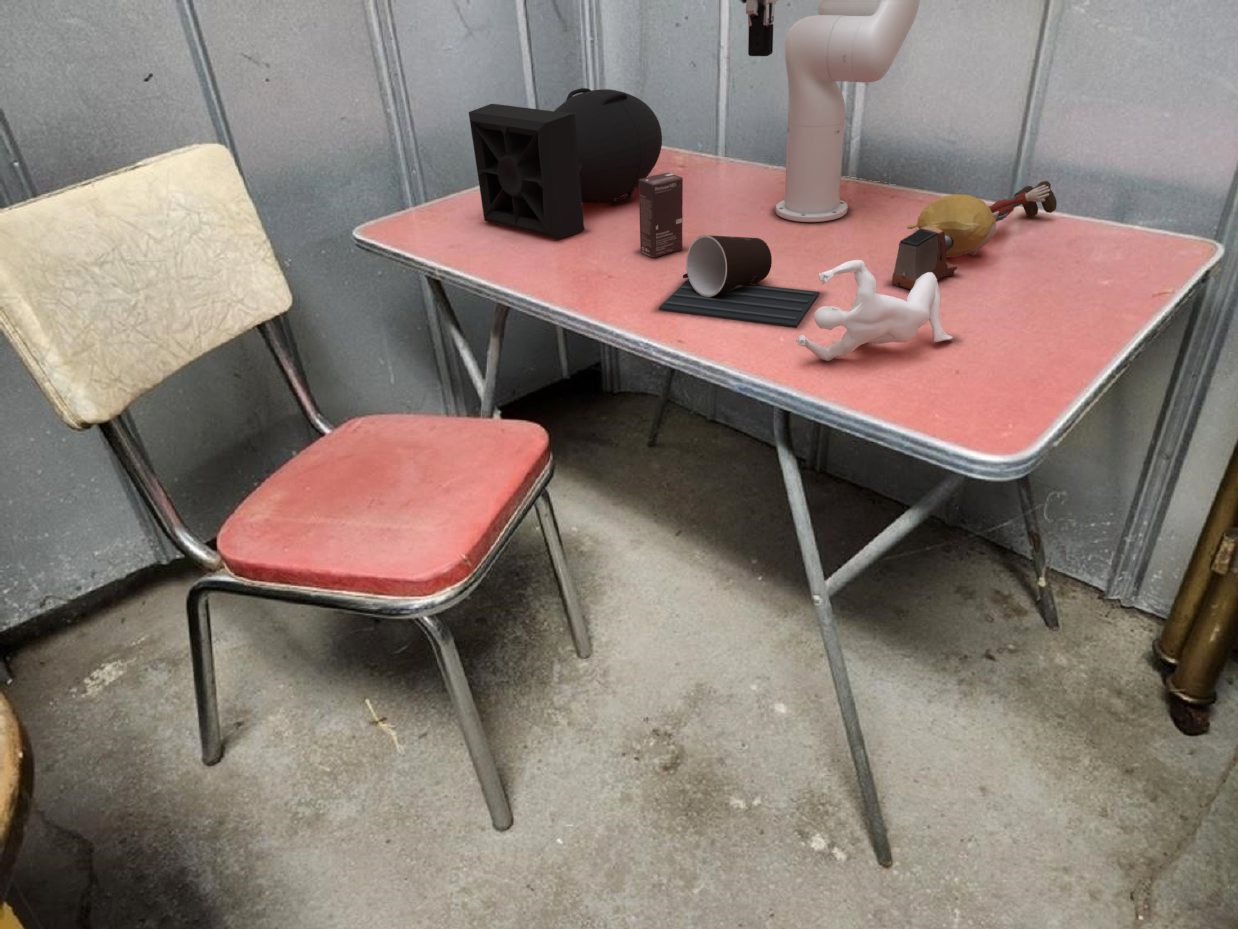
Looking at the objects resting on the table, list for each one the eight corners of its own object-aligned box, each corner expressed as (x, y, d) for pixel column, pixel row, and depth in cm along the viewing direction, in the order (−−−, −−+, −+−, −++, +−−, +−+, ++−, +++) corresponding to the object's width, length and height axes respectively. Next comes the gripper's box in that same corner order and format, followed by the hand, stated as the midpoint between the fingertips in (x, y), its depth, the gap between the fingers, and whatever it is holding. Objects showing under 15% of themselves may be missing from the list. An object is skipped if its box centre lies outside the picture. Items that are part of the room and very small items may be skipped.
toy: (984, 236, 155) (885, 282, 139) (970, 181, 153) (868, 221, 137) (1114, 202, 137) (1017, 252, 121) (1100, 139, 135) (1000, 181, 119)
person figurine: (892, 237, 112) (823, 255, 99) (983, 278, 106) (922, 302, 93) (855, 328, 119) (786, 355, 106) (938, 371, 113) (876, 405, 100)
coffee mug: (781, 236, 125) (730, 241, 119) (773, 295, 129) (723, 303, 123) (725, 221, 133) (675, 225, 127) (719, 277, 137) (670, 284, 131)
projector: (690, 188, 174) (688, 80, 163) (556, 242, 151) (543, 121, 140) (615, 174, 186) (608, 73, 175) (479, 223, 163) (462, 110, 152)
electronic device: (957, 274, 128) (964, 224, 124) (915, 293, 124) (921, 241, 119) (932, 267, 131) (938, 218, 127) (890, 285, 127) (895, 234, 123)
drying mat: (689, 279, 133) (689, 275, 133) (819, 294, 125) (819, 289, 125) (658, 309, 124) (658, 305, 124) (796, 327, 116) (796, 322, 116)
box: (655, 259, 141) (652, 184, 135) (639, 252, 145) (636, 178, 138) (685, 250, 144) (683, 176, 138) (669, 243, 147) (667, 171, 141)
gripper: (774, -93, 111) (770, 64, 121) (805, -98, 122) (799, 46, 132) (718, -89, 113) (718, 64, 123) (753, -95, 124) (751, 46, 135)
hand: (760, 54), depth 128 cm, fingers closed
